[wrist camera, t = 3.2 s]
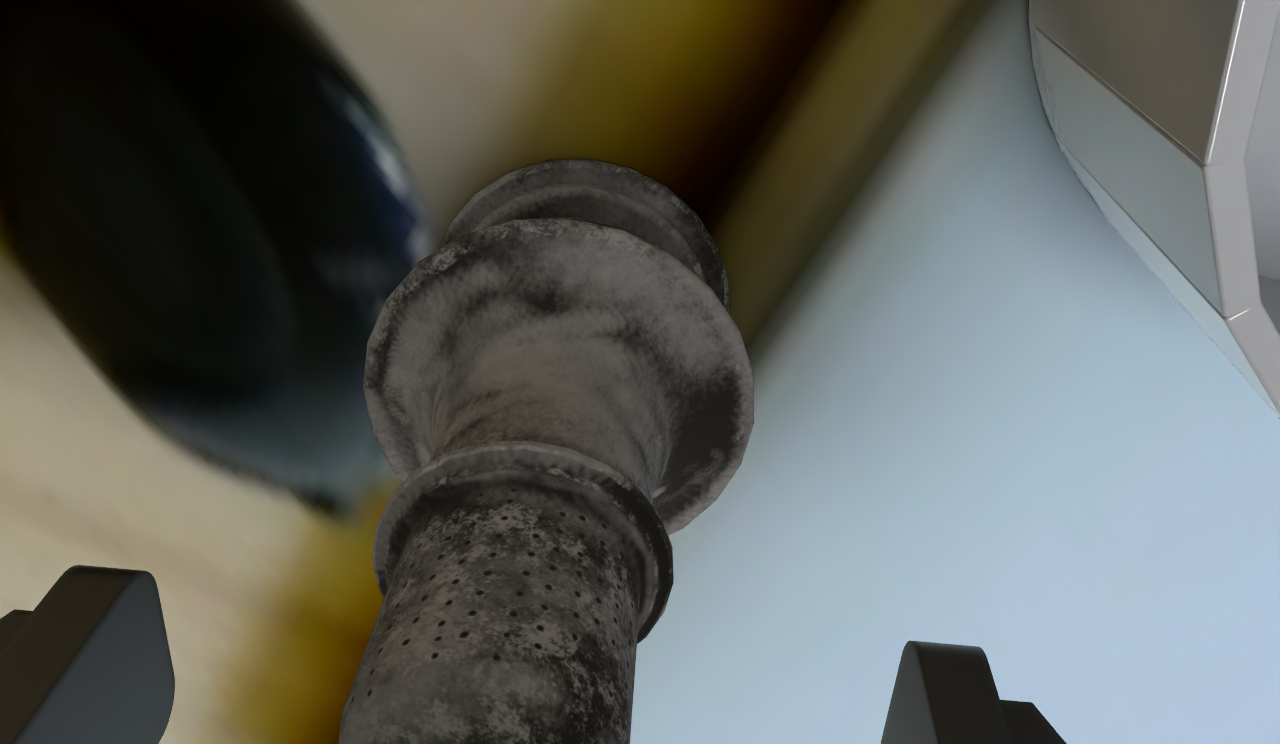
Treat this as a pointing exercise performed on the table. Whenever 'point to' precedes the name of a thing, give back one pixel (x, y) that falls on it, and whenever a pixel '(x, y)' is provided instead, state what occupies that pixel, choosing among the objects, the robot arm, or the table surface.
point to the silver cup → (1179, 150)
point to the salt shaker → (543, 456)
